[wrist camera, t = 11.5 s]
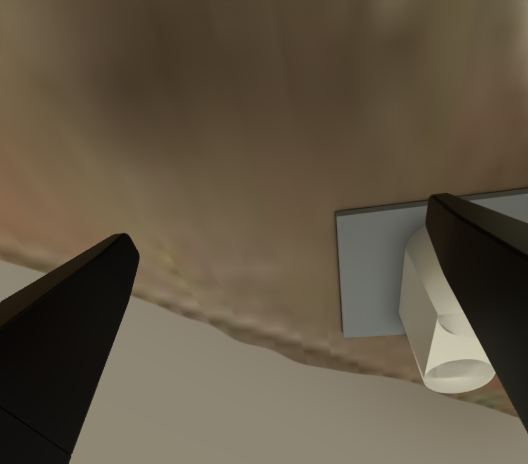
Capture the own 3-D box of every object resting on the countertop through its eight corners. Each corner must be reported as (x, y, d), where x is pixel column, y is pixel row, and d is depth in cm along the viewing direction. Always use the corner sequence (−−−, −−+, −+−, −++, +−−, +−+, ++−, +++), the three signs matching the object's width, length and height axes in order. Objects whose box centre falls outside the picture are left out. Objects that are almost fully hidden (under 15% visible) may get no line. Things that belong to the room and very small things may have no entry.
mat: (560, 184, 19) (567, 188, 19) (502, 322, 27) (505, 328, 27) (335, 211, 21) (336, 216, 21) (342, 332, 30) (343, 337, 29)
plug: (479, 215, 20) (539, 280, 15) (446, 338, 28) (479, 407, 23) (407, 223, 21) (444, 287, 16) (395, 341, 29) (417, 408, 24)
